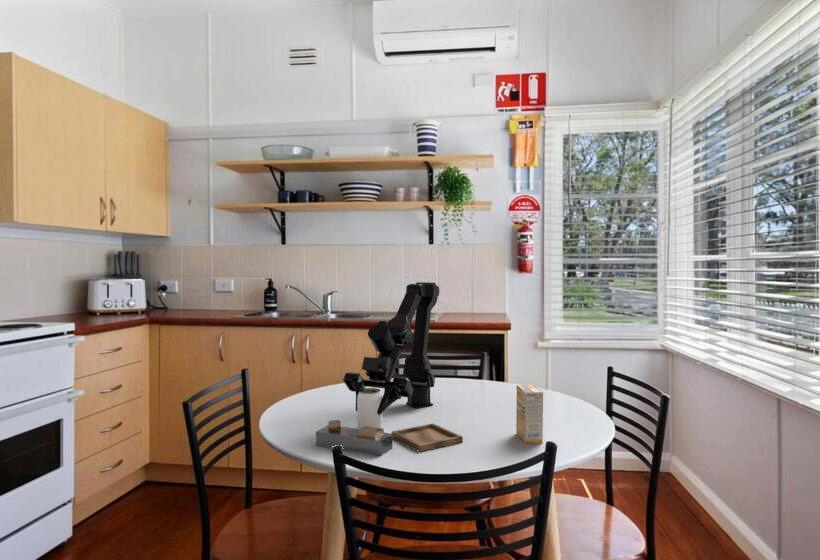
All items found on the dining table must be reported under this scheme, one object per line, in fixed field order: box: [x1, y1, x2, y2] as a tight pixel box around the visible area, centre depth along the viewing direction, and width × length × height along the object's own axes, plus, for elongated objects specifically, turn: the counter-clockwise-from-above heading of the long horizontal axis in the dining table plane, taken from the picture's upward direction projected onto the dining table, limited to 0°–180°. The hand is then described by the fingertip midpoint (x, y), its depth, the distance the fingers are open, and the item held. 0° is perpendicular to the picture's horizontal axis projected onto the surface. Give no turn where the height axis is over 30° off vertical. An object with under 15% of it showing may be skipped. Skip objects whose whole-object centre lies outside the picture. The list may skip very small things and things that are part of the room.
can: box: [356, 387, 383, 429], centre depth 138 cm, size 6×6×12 cm
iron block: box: [315, 419, 393, 457], centre depth 130 cm, size 18×6×6 cm, turn 67°
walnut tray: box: [391, 423, 464, 453], centre depth 136 cm, size 13×13×2 cm
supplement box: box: [515, 384, 544, 444], centre depth 137 cm, size 8×5×13 cm, turn 5°
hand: (367, 412), depth 137 cm, fingers closed on can, 6 cm apart
